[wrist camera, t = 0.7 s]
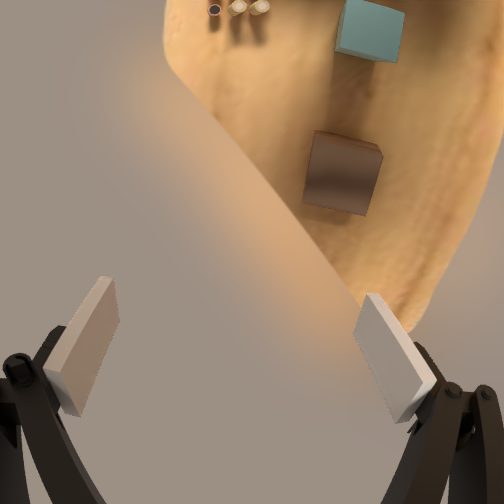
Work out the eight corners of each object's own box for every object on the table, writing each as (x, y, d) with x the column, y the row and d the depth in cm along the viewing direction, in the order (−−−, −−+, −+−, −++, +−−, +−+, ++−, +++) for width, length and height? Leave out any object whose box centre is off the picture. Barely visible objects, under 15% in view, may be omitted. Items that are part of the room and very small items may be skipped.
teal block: (340, 14, 26) (347, -4, 17) (381, 25, 26) (405, 13, 17) (334, 51, 29) (339, 47, 20) (375, 61, 29) (396, 62, 20)
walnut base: (315, 129, 36) (314, 139, 32) (376, 144, 35) (383, 156, 31) (304, 186, 41) (302, 202, 37) (361, 198, 40) (365, 216, 36)
